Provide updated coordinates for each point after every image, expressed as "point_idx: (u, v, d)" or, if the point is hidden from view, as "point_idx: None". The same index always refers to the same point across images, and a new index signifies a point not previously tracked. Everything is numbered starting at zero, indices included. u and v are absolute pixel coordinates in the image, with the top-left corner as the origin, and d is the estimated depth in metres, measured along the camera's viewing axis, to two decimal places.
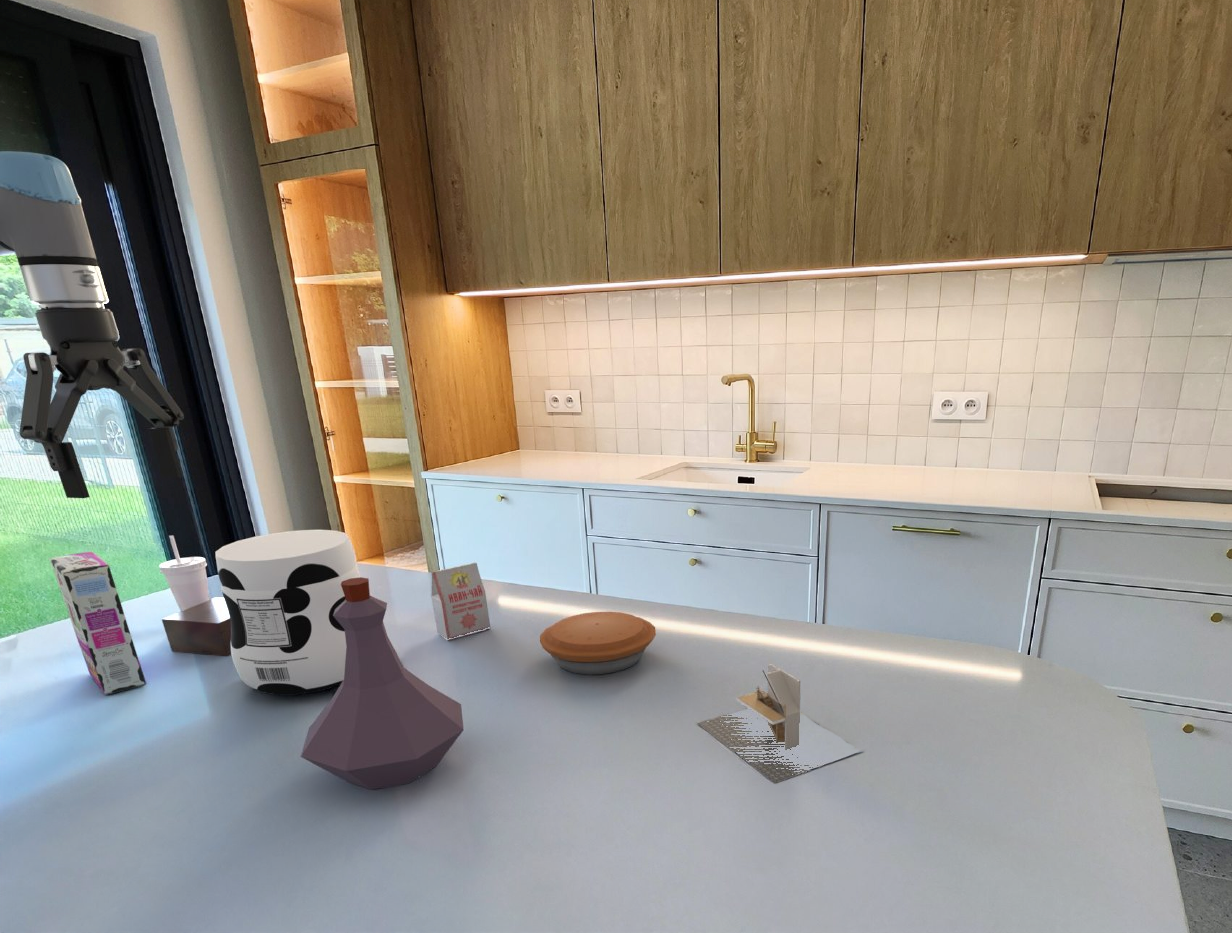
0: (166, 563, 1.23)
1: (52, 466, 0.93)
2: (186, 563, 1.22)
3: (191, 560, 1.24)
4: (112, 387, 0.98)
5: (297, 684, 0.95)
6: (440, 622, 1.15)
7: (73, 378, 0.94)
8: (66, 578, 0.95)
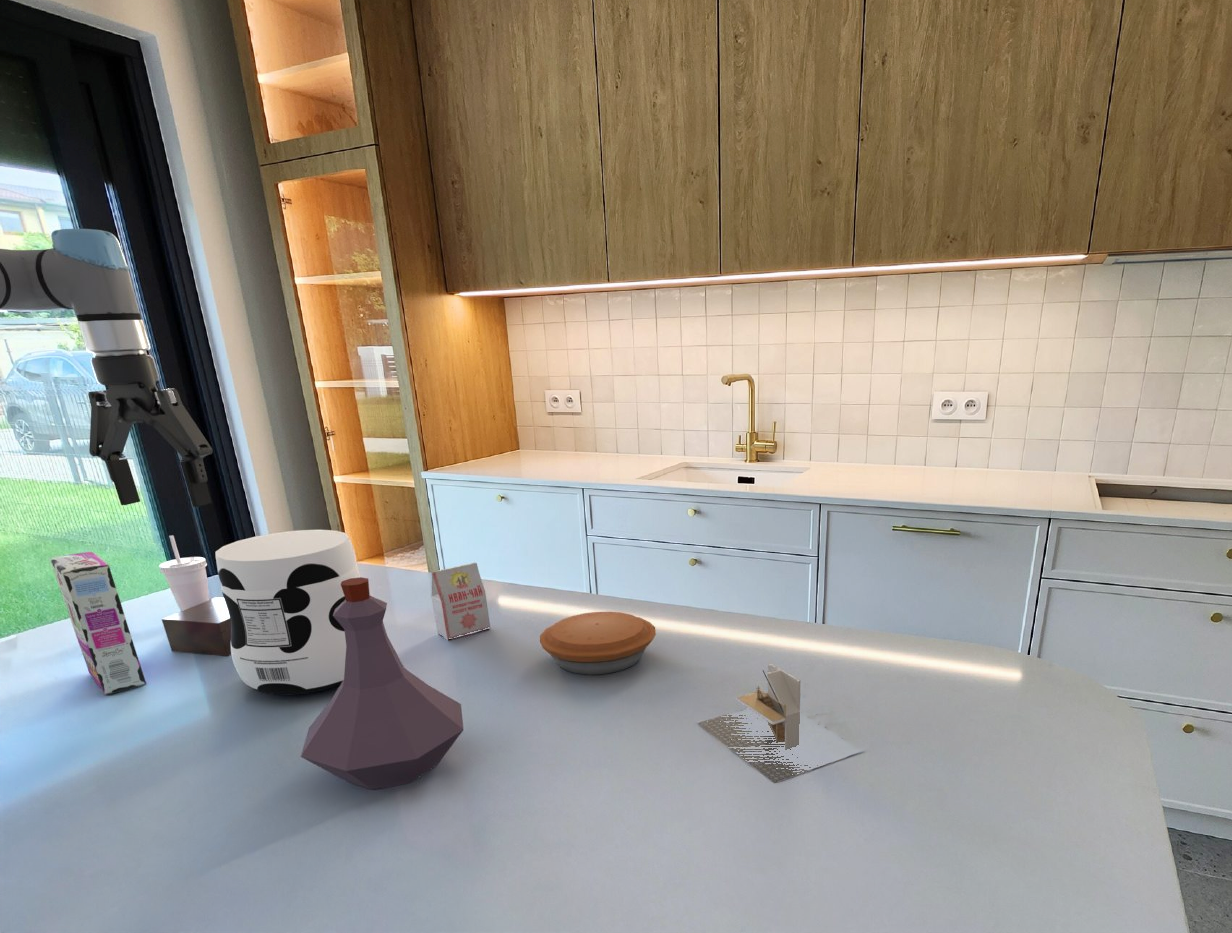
0: (166, 563, 1.23)
1: (201, 478, 1.16)
2: (186, 563, 1.22)
3: (191, 560, 1.24)
4: None
5: (297, 684, 0.95)
6: (440, 622, 1.15)
7: (158, 411, 1.14)
8: (66, 578, 0.95)
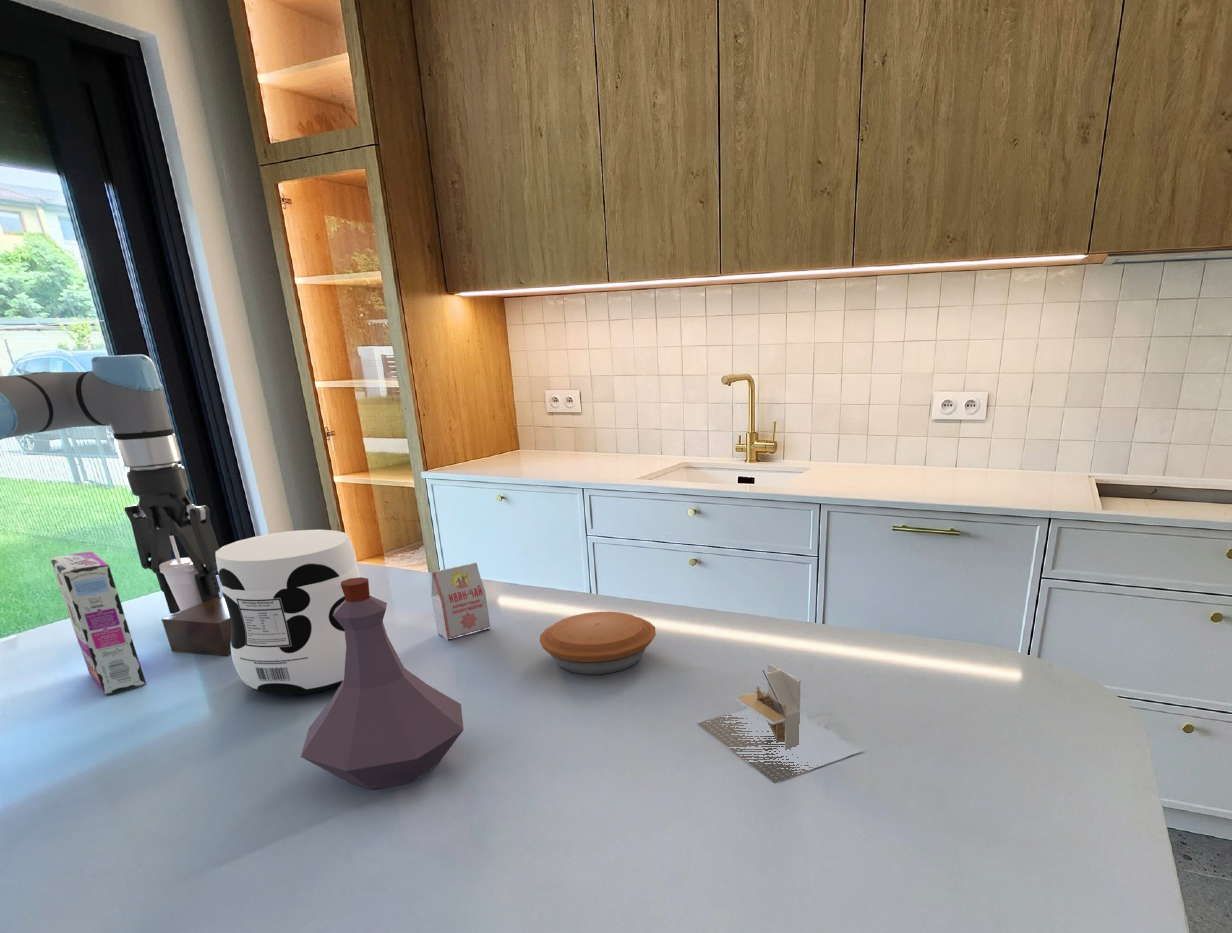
0: (166, 563, 1.23)
1: (214, 590, 1.23)
2: (186, 563, 1.22)
3: None
4: None
5: (297, 684, 0.95)
6: (440, 622, 1.15)
7: (187, 517, 1.20)
8: (66, 578, 0.95)
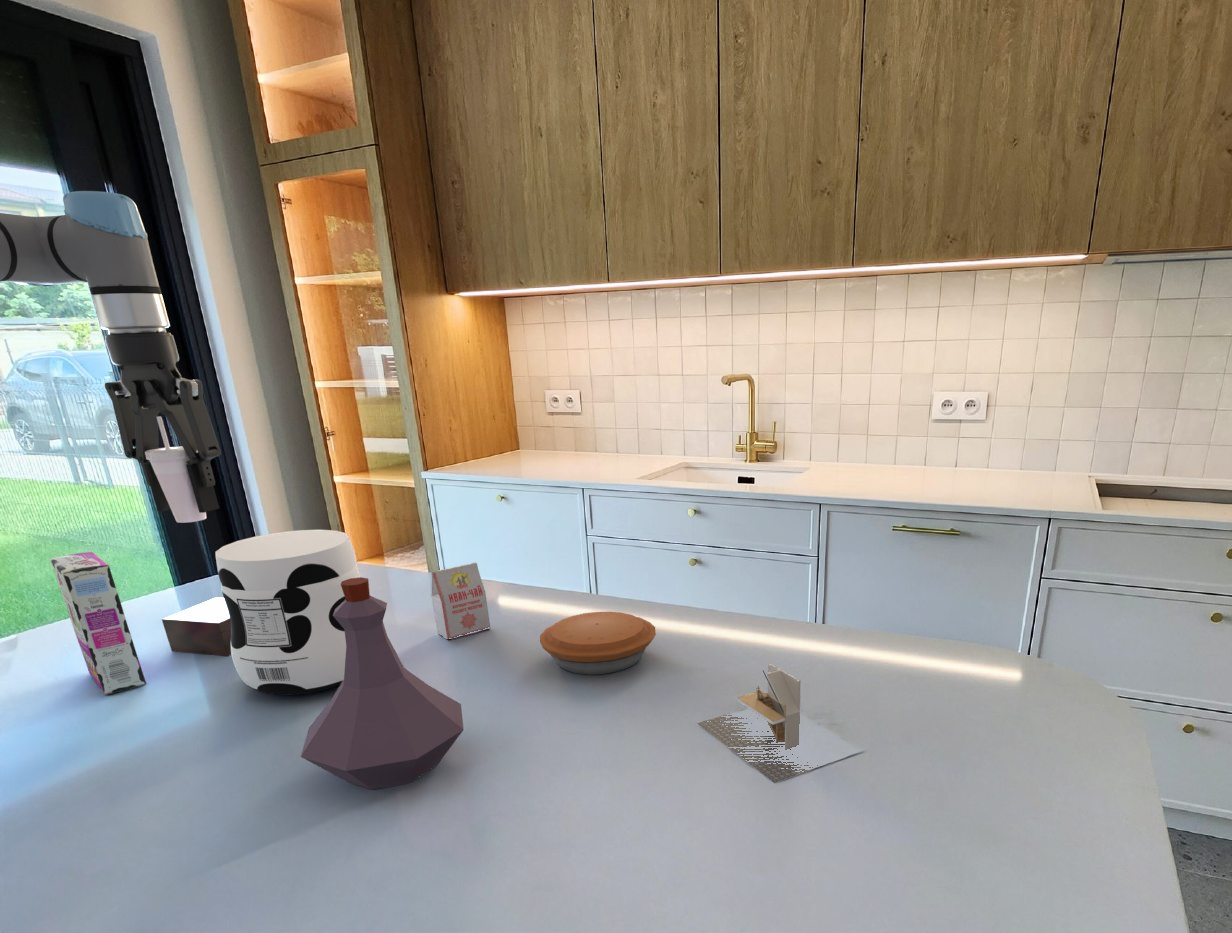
0: (153, 450, 1.07)
1: (208, 482, 1.07)
2: (176, 449, 1.06)
3: (182, 448, 1.08)
4: None
5: (297, 684, 0.95)
6: (440, 622, 1.15)
7: (177, 394, 1.04)
8: (66, 578, 0.95)
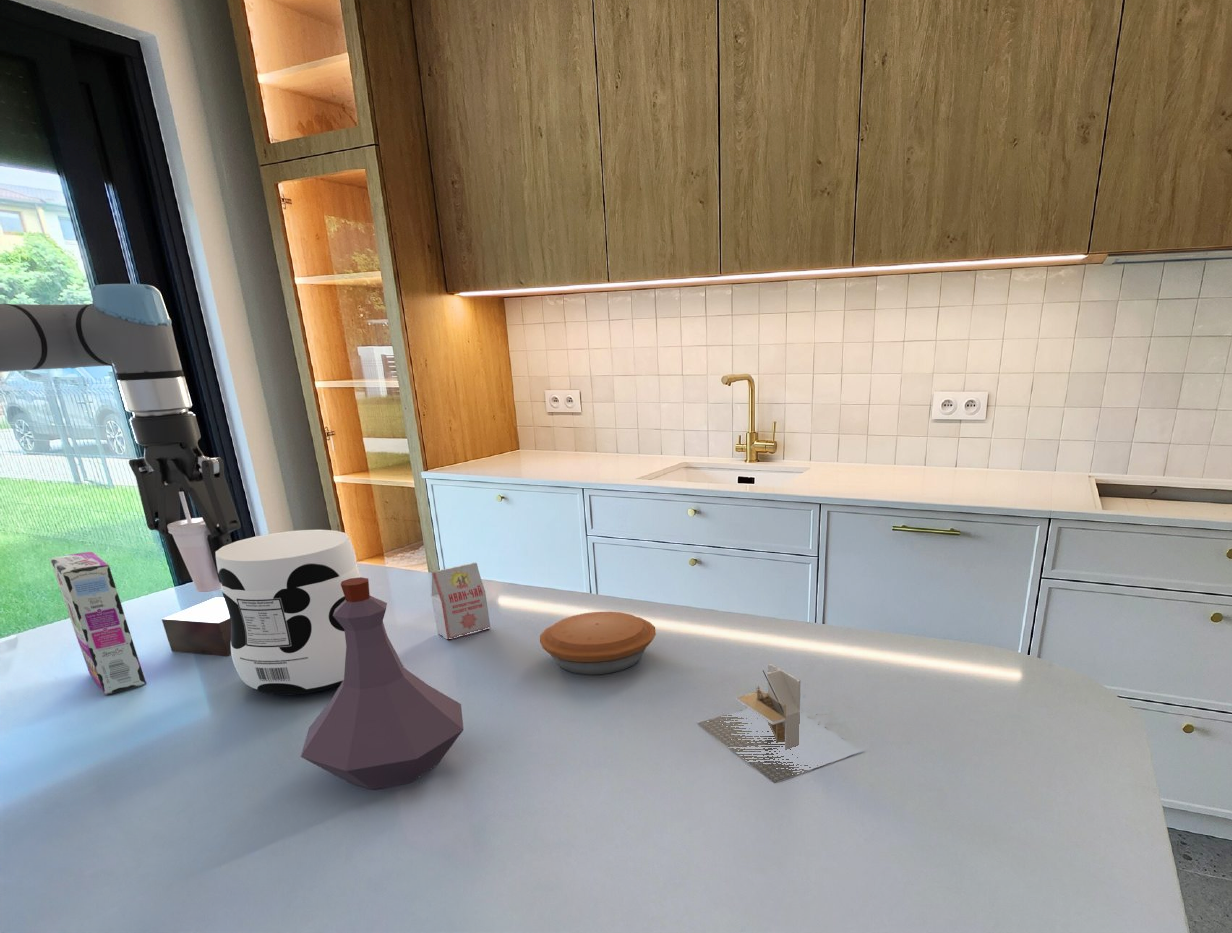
0: (175, 523, 1.11)
1: None
2: (197, 523, 1.10)
3: (203, 520, 1.11)
4: None
5: (297, 684, 0.95)
6: (440, 622, 1.15)
7: (199, 471, 1.08)
8: (66, 578, 0.95)
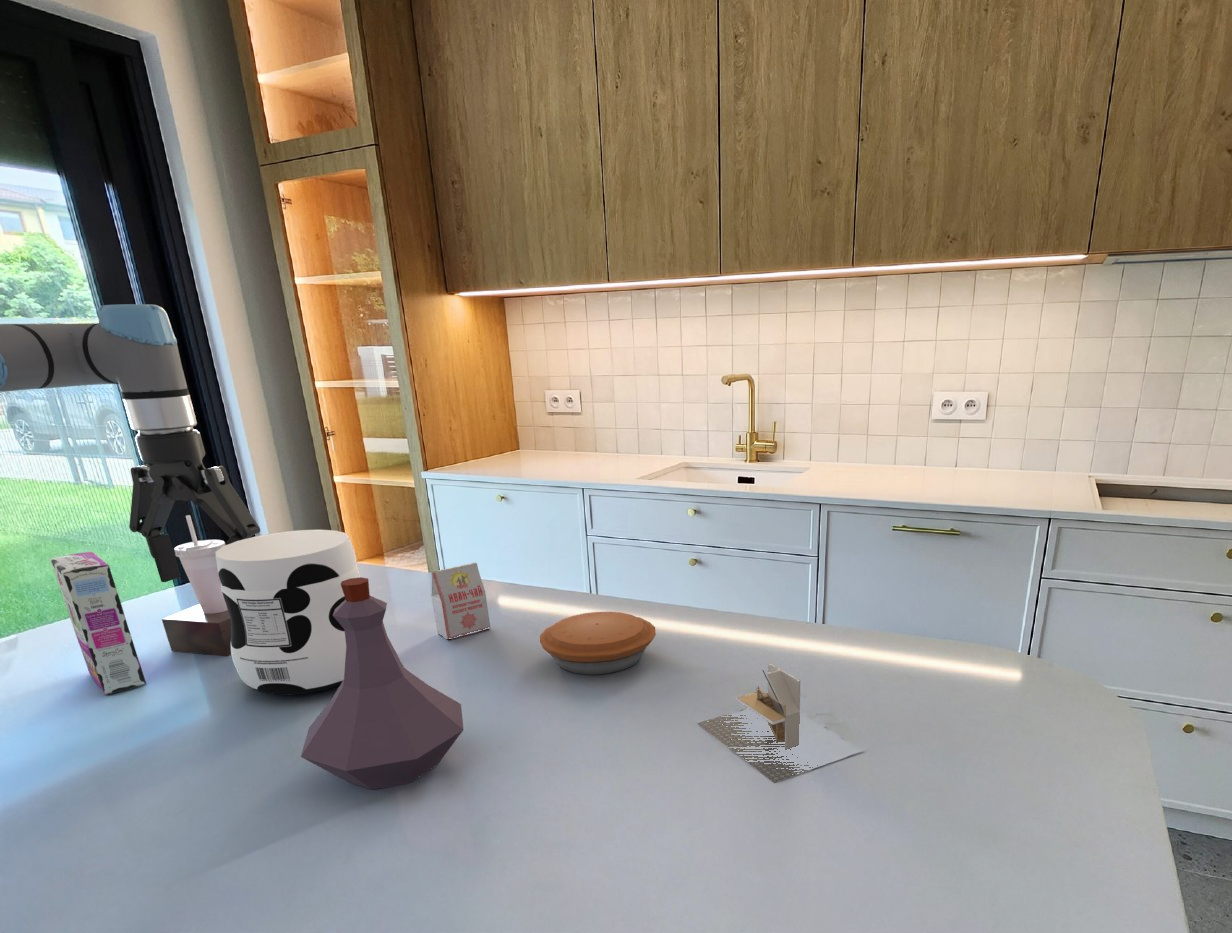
0: (182, 546, 1.12)
1: None
2: (204, 546, 1.11)
3: (209, 543, 1.13)
4: None
5: (297, 684, 0.95)
6: (440, 622, 1.15)
7: (203, 488, 1.09)
8: (66, 578, 0.95)
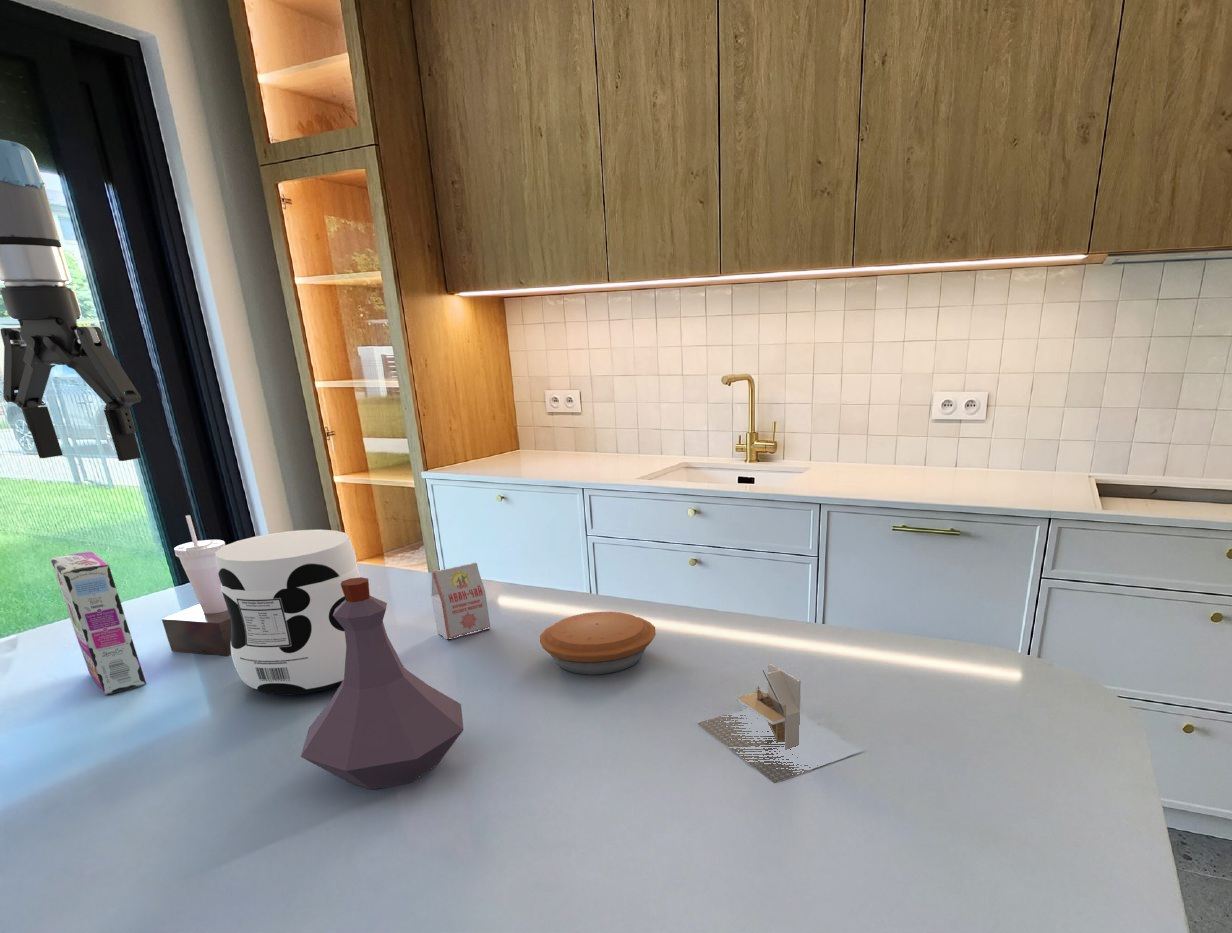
0: (182, 546, 1.12)
1: (128, 429, 1.04)
2: (204, 546, 1.11)
3: (209, 543, 1.13)
4: None
5: (297, 684, 0.95)
6: (440, 622, 1.15)
7: (79, 352, 1.02)
8: (66, 578, 0.95)
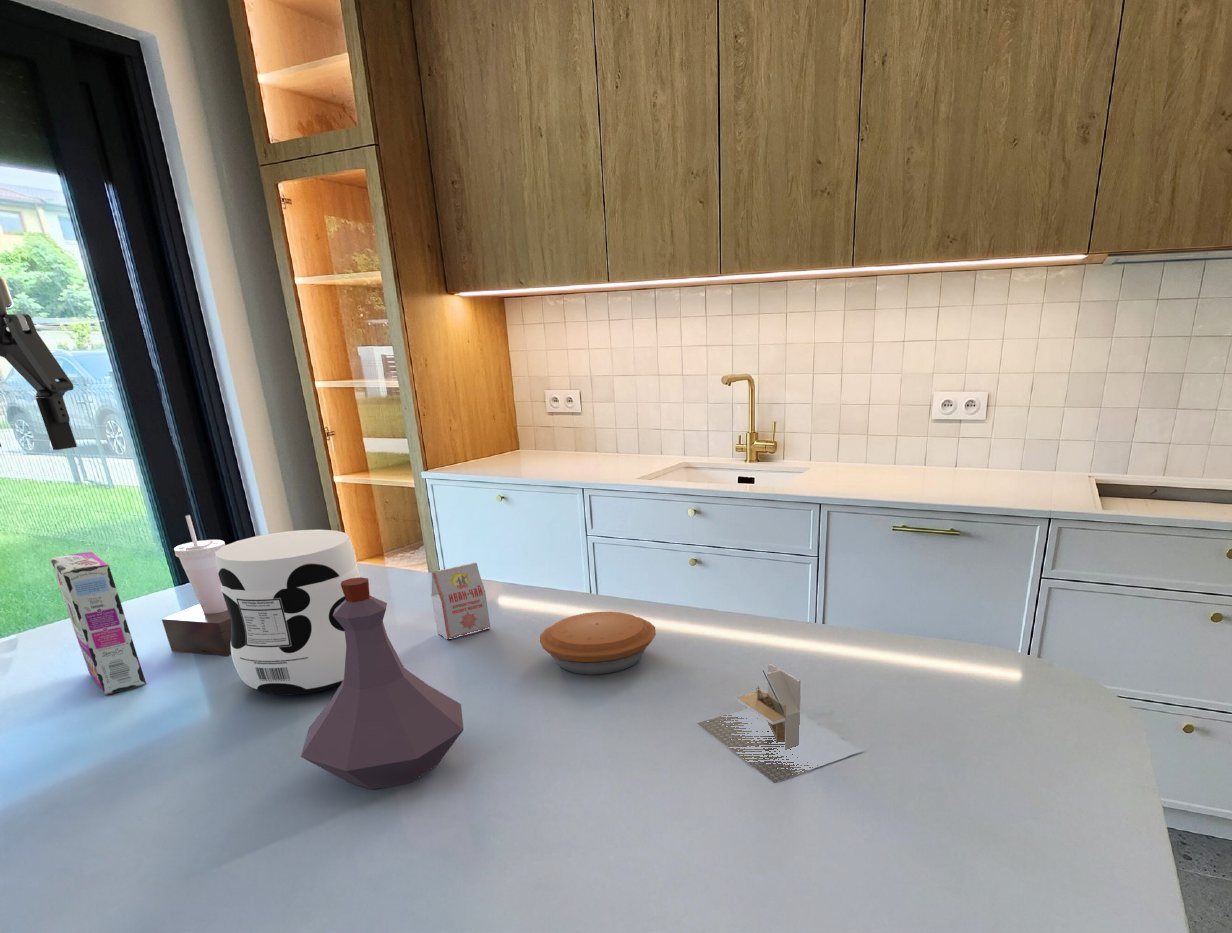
0: (182, 546, 1.12)
1: (61, 417, 1.03)
2: (204, 546, 1.11)
3: (209, 543, 1.13)
4: None
5: (297, 684, 0.95)
6: (440, 622, 1.15)
7: (10, 340, 1.01)
8: (66, 578, 0.95)
